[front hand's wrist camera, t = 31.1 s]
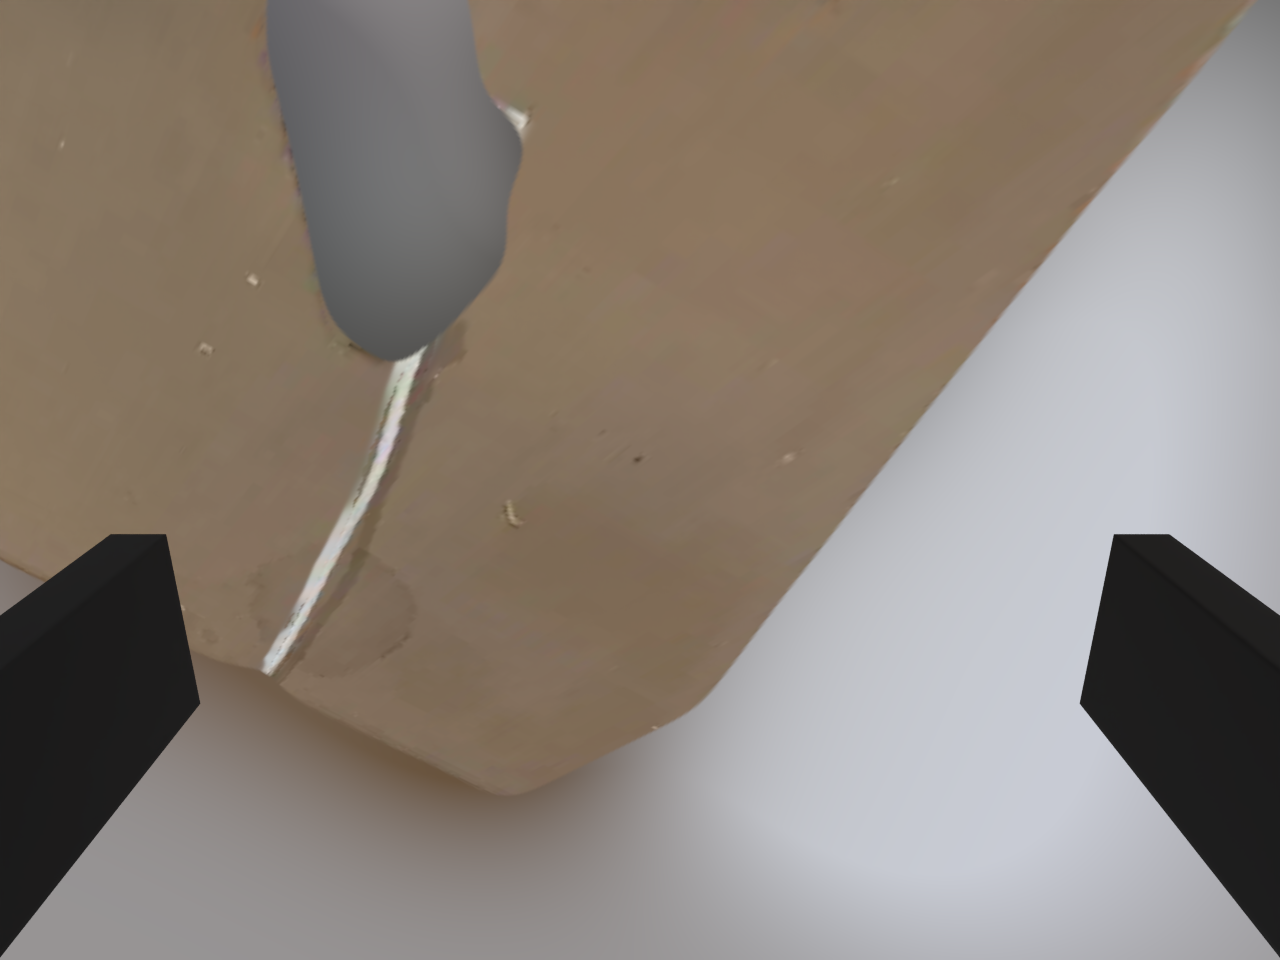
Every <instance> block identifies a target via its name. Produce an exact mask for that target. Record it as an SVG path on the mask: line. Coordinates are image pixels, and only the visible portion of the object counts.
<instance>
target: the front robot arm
mask: <svg viewBox="0 0 1280 960" xmlns="http://www.w3.org/2000/svg"><path fill="white" fill-rule="evenodd" d="M199 704H200V700H199V695H198V690H197V685H196V680H195V675H194V670H193V666H192V660H191V655H190V650H189V645H188V640H187V635H186V631H185V626H184V621H183V616H182V611H181V606H180V601H179V596H178V591H177V586H176V581H175V576H174V571H173V566H172V561H171V556H170V551H169V546H168V541H167V536H166V534H111V535H109V536H108V537H106V538H105V539H104V540H102V541H101V542H100V543H98V544H97V545H96V546H94V547H93V548H91V549H90V550H89V551H87V552H86V553H85V554H83V555H82V556H81V557H79V558H78V559H77V560H75V561H74V562H72V563H71V564H70V565H68V566H67V567H66V568H64V569H63V570H62V571H60V572H59V573H57V574H56V575H55V576H53V577H52V578H51V579H49V580H48V581H47V582H45V583H44V584H43V585H41V586H40V587H38V588H37V589H36V590H34V591H33V592H32V593H30V594H29V595H28V596H26V597H25V598H23V599H22V600H21V601H19V602H18V603H17V604H15V605H14V606H13V607H11V608H10V609H8V610H7V611H6V612H4V613H3V614H2V615H0V957H1V956H2V954H3V953H4V952H5V951H6V949H7V948H8V947H9V945H10V944H11V943H12V942H13V940H14V939H15V938H16V937H17V935H18V934H19V933H20V932H21V930H22V929H23V928H24V927H25V925H26V924H27V923H28V921H29V920H30V919H31V918H32V916H33V915H34V914H35V913H36V911H37V910H38V909H39V907H40V906H41V905H42V904H43V902H44V901H45V900H46V899H47V897H48V896H49V895H50V894H51V892H52V891H53V890H54V888H55V887H56V886H57V885H58V883H59V882H60V881H61V879H62V878H63V877H64V876H65V874H66V873H67V872H68V871H69V869H70V868H71V867H72V866H73V864H74V863H75V862H76V861H77V859H78V858H79V857H80V855H81V854H82V853H83V852H84V850H85V849H86V848H87V847H88V845H89V844H90V843H91V841H92V840H93V839H94V838H95V836H96V835H97V834H98V833H99V831H100V830H101V829H102V828H103V826H104V825H105V824H106V822H107V821H108V820H109V819H110V817H111V816H112V815H113V814H114V812H115V811H116V810H117V809H118V807H119V806H120V805H121V803H122V802H123V801H124V800H125V798H126V797H127V796H128V795H129V793H130V792H131V791H132V789H133V788H134V787H135V786H136V784H137V783H138V782H139V781H140V779H141V778H142V777H143V776H144V774H145V773H146V772H147V770H148V769H149V768H150V767H151V765H152V764H153V763H154V761H155V760H156V759H157V758H158V756H159V755H160V754H161V753H162V751H163V750H164V749H165V748H166V746H167V745H168V744H169V743H170V741H171V740H172V739H173V737H174V736H175V735H176V734H177V732H178V731H179V730H180V729H181V727H182V726H183V725H184V723H185V722H186V721H187V720H188V718H189V717H190V716H191V715H192V713H193V712H194V711H195V710H196V708H197V707H198V706H199ZM1080 704H1081V706H1082V707H1083V708H1084V710H1085V711H1086V712H1087V713H1088V714H1089V716H1090V717H1091V718H1092V720H1093V721H1094V722H1095V723H1096V725H1097V726H1098V727H1099V729H1100V730H1101V731H1102V732H1103V734H1104V735H1105V736H1106V737H1107V739H1108V740H1109V741H1110V742H1111V744H1112V745H1113V746H1114V748H1115V749H1116V750H1117V751H1118V753H1119V754H1120V755H1121V756H1122V758H1123V759H1124V760H1125V761H1126V763H1127V764H1128V765H1129V767H1130V768H1131V769H1132V770H1133V772H1134V773H1135V774H1136V775H1137V777H1138V778H1139V779H1140V781H1141V782H1142V783H1143V784H1144V786H1145V787H1146V788H1147V789H1148V791H1149V792H1150V793H1151V795H1152V796H1153V797H1154V798H1155V800H1156V801H1157V802H1158V803H1159V805H1160V806H1161V807H1162V808H1163V810H1164V811H1165V812H1166V814H1167V815H1168V816H1169V817H1170V819H1171V820H1172V821H1173V822H1174V824H1175V825H1176V826H1177V828H1178V829H1179V830H1180V831H1181V833H1182V834H1183V835H1184V836H1185V838H1186V839H1187V840H1188V841H1189V843H1190V844H1191V845H1192V847H1193V848H1194V849H1195V850H1196V852H1197V853H1198V854H1199V855H1200V857H1201V858H1202V859H1203V861H1204V862H1205V863H1206V864H1207V866H1208V867H1209V868H1210V869H1211V871H1212V872H1213V873H1214V874H1215V876H1216V877H1217V878H1218V880H1219V881H1220V882H1221V883H1222V885H1223V886H1224V887H1225V888H1226V890H1227V891H1228V892H1229V894H1230V895H1231V896H1232V897H1233V899H1234V900H1235V901H1236V902H1237V904H1238V905H1239V906H1240V907H1241V909H1242V910H1243V911H1244V913H1245V914H1246V915H1247V916H1248V918H1249V919H1250V920H1251V921H1252V923H1253V924H1254V925H1255V927H1256V928H1257V929H1258V930H1259V932H1260V933H1261V934H1262V935H1263V937H1264V938H1265V939H1266V940H1267V942H1268V943H1269V944H1270V945H1271V947H1272V948H1273V949H1274V951H1275V952H1276V953H1277V954H1278V956H1279V957H1280V615H1278V614H1277V613H1276V612H1274V611H1273V610H1271V609H1270V608H1269V607H1267V606H1266V605H1265V604H1263V603H1262V602H1261V601H1259V600H1258V599H1257V598H1255V597H1254V596H1252V595H1251V594H1250V593H1248V592H1247V591H1246V590H1244V589H1243V588H1242V587H1240V586H1239V585H1237V584H1236V583H1235V582H1233V581H1232V580H1231V579H1229V578H1228V577H1227V576H1225V575H1224V574H1223V573H1221V572H1220V571H1218V570H1217V569H1216V568H1214V567H1213V566H1212V565H1210V564H1209V563H1208V562H1206V561H1205V560H1203V559H1202V558H1201V557H1199V556H1198V555H1197V554H1195V553H1194V552H1193V551H1191V550H1190V549H1189V548H1187V547H1186V546H1184V545H1183V544H1182V543H1180V542H1179V541H1178V540H1176V539H1175V538H1174V537H1172V536H1171V535H1169V534H1114V536H1113V541H1112V546H1111V551H1110V556H1109V561H1108V566H1107V571H1106V576H1105V581H1104V586H1103V591H1102V596H1101V601H1100V606H1099V611H1098V616H1097V621H1096V626H1095V631H1094V635H1093V640H1092V646H1091V650H1090V655H1089V660H1088V665H1087V670H1086V675H1085V680H1084V685H1083V690H1082V695H1081V700H1080Z"/></svg>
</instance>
